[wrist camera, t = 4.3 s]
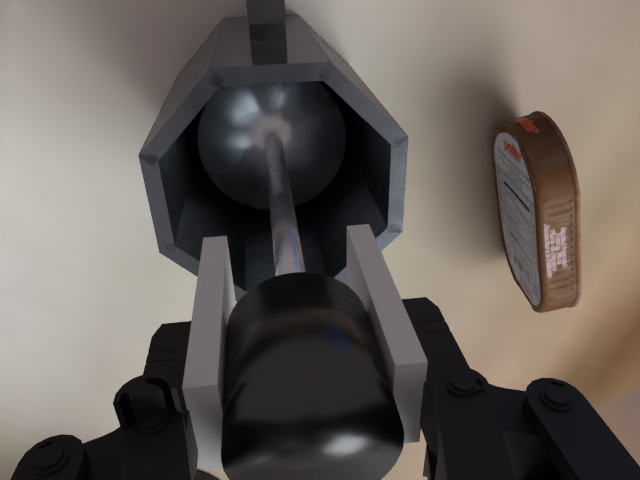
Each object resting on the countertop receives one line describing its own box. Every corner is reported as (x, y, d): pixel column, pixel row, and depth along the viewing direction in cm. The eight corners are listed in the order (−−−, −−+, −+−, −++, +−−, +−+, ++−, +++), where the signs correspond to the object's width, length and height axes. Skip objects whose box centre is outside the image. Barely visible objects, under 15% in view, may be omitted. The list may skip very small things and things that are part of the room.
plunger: (343, 198, 31) (469, 531, 14) (209, 208, 30) (159, 575, 13) (343, 60, 27) (521, 282, 10) (188, 68, 26) (74, 325, 9)
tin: (534, 264, 44) (591, 328, 37) (498, 275, 44) (548, 341, 37) (521, 94, 36) (590, 133, 29) (477, 108, 36) (535, 151, 29)
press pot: (350, 176, 38) (398, 288, 26) (195, 188, 37) (171, 310, 25) (350, -38, 31) (418, -21, 19) (160, -31, 30) (103, -9, 18)
